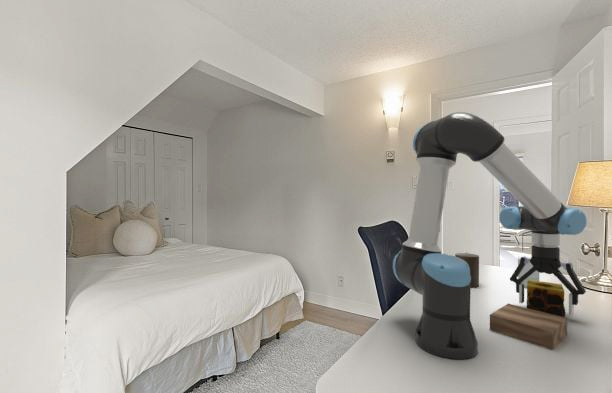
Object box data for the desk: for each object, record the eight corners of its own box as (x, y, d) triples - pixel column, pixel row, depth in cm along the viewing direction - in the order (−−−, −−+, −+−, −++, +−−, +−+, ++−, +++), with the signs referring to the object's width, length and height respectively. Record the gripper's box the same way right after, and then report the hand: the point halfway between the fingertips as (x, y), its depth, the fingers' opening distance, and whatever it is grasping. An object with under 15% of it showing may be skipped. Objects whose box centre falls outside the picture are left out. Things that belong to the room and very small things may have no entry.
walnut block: (552, 351, 79) (552, 332, 79) (489, 331, 91) (489, 314, 91) (567, 335, 88) (567, 317, 88) (508, 318, 100) (508, 303, 100)
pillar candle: (471, 289, 130) (471, 254, 130) (450, 283, 139) (450, 250, 139) (483, 286, 136) (483, 252, 136) (462, 280, 144) (462, 249, 144)
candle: (565, 322, 96) (565, 291, 96) (526, 315, 102) (526, 285, 102) (563, 313, 104) (563, 284, 104) (527, 306, 110) (527, 279, 110)
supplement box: (537, 285, 136) (537, 257, 136) (539, 290, 130) (539, 260, 130) (517, 283, 140) (517, 255, 140) (518, 287, 134) (518, 258, 134)
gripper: (597, 249, 96) (597, 316, 96) (507, 240, 115) (507, 296, 115) (592, 252, 91) (592, 322, 91) (499, 242, 111) (499, 300, 111)
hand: (545, 308), depth 103 cm, fingers open, 13 cm apart
